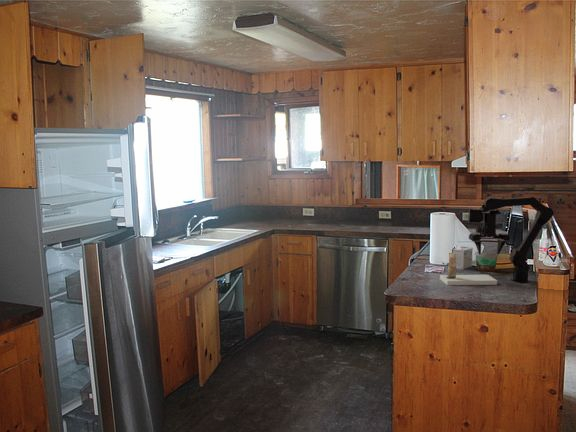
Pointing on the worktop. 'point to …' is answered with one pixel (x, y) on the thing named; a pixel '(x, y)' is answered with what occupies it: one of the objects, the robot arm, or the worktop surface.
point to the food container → (486, 261)
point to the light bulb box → (463, 257)
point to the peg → (452, 266)
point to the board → (469, 280)
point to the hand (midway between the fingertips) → (488, 254)
